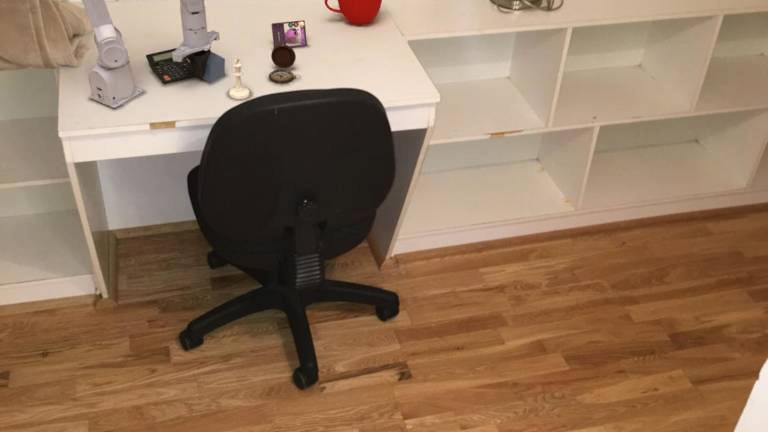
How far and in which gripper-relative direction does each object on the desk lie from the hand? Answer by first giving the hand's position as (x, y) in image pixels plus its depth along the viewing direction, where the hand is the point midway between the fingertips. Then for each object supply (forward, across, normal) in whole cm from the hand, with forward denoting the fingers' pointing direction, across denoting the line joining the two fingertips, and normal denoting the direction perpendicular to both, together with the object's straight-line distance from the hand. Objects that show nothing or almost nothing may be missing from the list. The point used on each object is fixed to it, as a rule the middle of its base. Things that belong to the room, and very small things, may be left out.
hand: (199, 76), depth 194 cm
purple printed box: (+2, +29, -5) cm, 30 cm away
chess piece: (+2, +1, -11) cm, 12 cm away
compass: (+2, +14, -16) cm, 21 cm away
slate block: (+1, +4, 0) cm, 4 cm away
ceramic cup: (+2, +51, -12) cm, 53 cm away
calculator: (+2, 0, +9) cm, 9 cm away
